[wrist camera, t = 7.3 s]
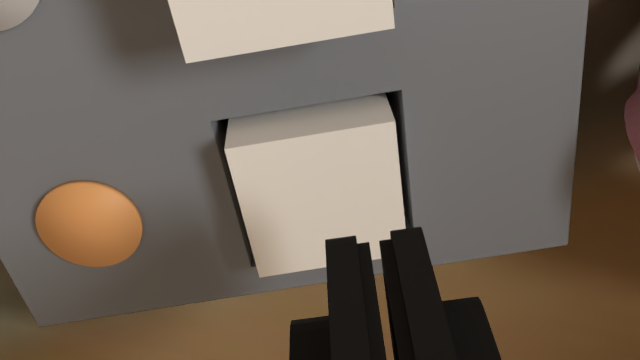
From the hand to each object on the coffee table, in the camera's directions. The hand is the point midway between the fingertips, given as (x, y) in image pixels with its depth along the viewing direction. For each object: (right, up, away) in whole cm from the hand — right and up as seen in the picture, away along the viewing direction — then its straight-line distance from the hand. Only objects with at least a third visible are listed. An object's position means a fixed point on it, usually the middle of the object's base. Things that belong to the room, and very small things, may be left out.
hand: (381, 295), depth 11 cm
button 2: (-1, +3, +5) cm, 6 cm away
